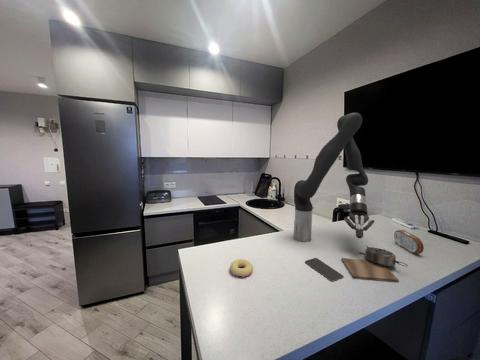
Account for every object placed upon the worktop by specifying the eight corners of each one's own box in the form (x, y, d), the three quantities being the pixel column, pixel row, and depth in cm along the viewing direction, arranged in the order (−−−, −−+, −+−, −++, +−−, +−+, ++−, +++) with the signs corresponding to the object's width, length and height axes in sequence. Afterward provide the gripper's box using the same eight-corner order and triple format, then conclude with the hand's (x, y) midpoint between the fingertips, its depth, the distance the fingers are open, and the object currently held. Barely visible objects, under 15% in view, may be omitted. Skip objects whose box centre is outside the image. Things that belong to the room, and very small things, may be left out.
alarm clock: (357, 256, 88) (401, 274, 75) (359, 244, 88) (403, 260, 74) (369, 254, 94) (411, 270, 80) (370, 243, 94) (413, 257, 80)
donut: (246, 267, 88) (226, 269, 84) (246, 257, 88) (227, 259, 84) (256, 277, 78) (235, 280, 75) (257, 265, 79) (236, 267, 75)
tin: (423, 256, 91) (425, 239, 89) (416, 256, 91) (418, 239, 90) (397, 242, 106) (399, 227, 104) (392, 242, 106) (393, 227, 104)
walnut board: (353, 278, 76) (353, 275, 76) (341, 260, 89) (341, 257, 88) (398, 282, 73) (398, 279, 73) (379, 262, 86) (380, 260, 86)
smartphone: (331, 281, 74) (303, 261, 87) (331, 284, 74) (303, 262, 87) (345, 276, 77) (316, 257, 90) (345, 278, 77) (316, 259, 90)
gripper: (344, 200, 99) (344, 232, 90) (375, 203, 94) (378, 237, 84) (342, 207, 105) (342, 238, 95) (371, 210, 99) (374, 243, 90)
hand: (359, 237), depth 90 cm, fingers closed
